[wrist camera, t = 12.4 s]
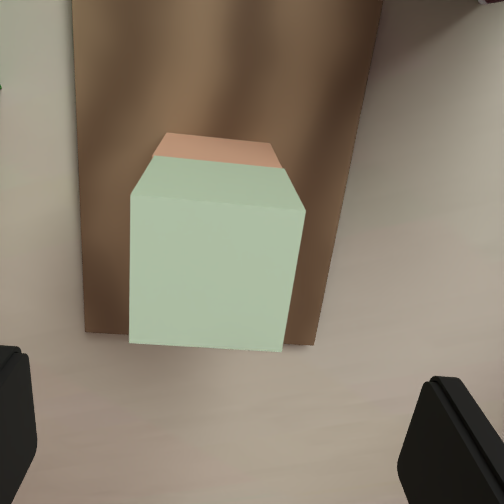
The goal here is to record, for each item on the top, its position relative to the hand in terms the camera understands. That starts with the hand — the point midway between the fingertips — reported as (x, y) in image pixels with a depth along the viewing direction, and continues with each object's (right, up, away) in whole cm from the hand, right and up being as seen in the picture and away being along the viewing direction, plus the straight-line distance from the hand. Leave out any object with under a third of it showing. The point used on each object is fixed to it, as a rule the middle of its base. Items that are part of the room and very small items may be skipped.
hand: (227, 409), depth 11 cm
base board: (-2, +8, +18) cm, 20 cm away
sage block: (-1, +5, +11) cm, 13 cm away
